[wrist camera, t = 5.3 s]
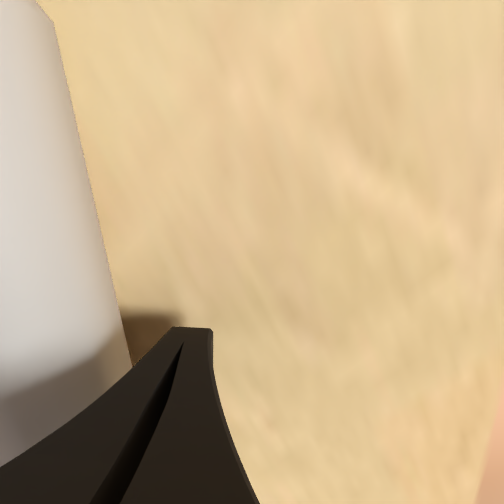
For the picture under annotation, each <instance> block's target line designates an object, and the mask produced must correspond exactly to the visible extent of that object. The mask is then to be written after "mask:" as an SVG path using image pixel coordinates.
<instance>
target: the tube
mask: <svg viewBox="0 0 504 504" xmlns="http://www.w3.org/2000/svg"><path fill="white" fill-rule="evenodd" d="M131 368H132V364H131V359H130V355H129V350H128V346H127V342H126V337H125V333H124V329H123V324H122V320H121V315H120V311H119V307H118V302H117V298H116V294H115V289H114V285H113V281H112V276H111V272H110V267H109V263H108V259H107V254H106V250H105V246H104V241H103V237H102V233H101V228H100V224H99V219H98V215H97V211H96V206H95V202H94V198H93V193H92V189H91V184H90V180H89V176H88V171H87V167H86V163H85V158H84V154H83V150H82V145H81V141H80V136H79V132H78V128H77V123H76V119H75V115H74V110H73V106H72V102H71V97H70V93H69V88H68V84H67V80H66V75H65V71H64V67H63V62H62V58H61V53H60V49H59V45H58V40H57V36H56V32H55V27H54V23H53V21H52V20H51V19H50V18H49V16H48V15H47V14H46V13H45V12H44V10H43V9H42V8H41V7H40V6H39V4H38V3H37V2H36V1H35V0H0V467H1V466H3V465H4V464H6V463H7V462H9V461H11V460H12V459H14V458H15V457H17V456H19V455H20V454H22V453H23V452H25V451H26V450H28V449H29V448H31V447H32V446H34V445H35V444H36V443H38V442H39V441H41V440H42V439H44V438H45V437H47V436H48V435H50V434H51V433H53V432H54V431H56V430H57V429H58V428H60V427H61V426H63V425H64V424H66V423H67V422H68V421H70V420H71V419H72V418H74V417H75V416H76V415H77V414H79V413H80V412H81V411H83V410H84V409H85V408H87V407H88V406H89V405H90V404H92V403H93V402H94V401H95V400H96V399H98V398H99V397H100V396H101V395H102V394H104V393H105V392H106V391H107V390H108V389H109V388H110V387H112V386H113V385H114V384H115V383H116V382H117V381H118V380H119V379H121V378H122V377H123V376H124V375H125V374H126V373H127V372H128V371H129V370H130V369H131Z"/></svg>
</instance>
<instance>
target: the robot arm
mask: <svg viewBox="0 0 504 504" xmlns="http://www.w3.org/2000/svg"><path fill="white" fill-rule="evenodd" d="M0 504H260V503H259V501H258V499H257V497H256V495H255V493H254V490H253V488H252V486H251V484H250V481H249V479H248V477H247V474H246V472H245V470H244V467H243V465H242V462H241V460H240V458H239V455H238V453H237V450H236V448H235V445H234V442H233V440H232V437H231V434H230V431H229V428H228V425H227V422H226V419H225V416H224V413H223V409H222V406H221V402H220V398H219V394H218V390H217V386H216V381H215V376H214V370H213V331H212V330H211V329H210V328H190V327H172V328H171V329H170V330H169V331H168V332H167V333H166V334H165V335H164V336H163V337H162V338H161V339H160V340H159V341H158V342H157V344H156V345H155V346H154V347H153V348H152V349H151V350H150V351H149V352H148V353H147V354H146V355H145V356H144V357H143V358H142V359H141V360H140V361H139V362H138V363H137V364H136V365H135V366H134V367H133V368H131V369H130V370H129V371H128V372H127V373H126V374H125V375H124V376H123V377H122V378H121V379H119V380H118V381H117V382H116V383H115V384H114V385H113V386H112V387H110V388H109V389H108V390H107V391H106V392H105V393H104V394H102V395H101V396H100V397H99V398H98V399H96V400H95V401H94V402H93V403H92V404H90V405H89V406H88V407H87V408H85V409H84V410H83V411H81V412H80V413H79V414H77V415H76V416H75V417H74V418H72V419H71V420H70V421H68V422H67V423H66V424H64V425H63V426H61V427H60V428H58V429H57V430H56V431H54V432H53V433H51V434H50V435H48V436H47V437H45V438H44V439H42V440H41V441H39V442H38V443H36V444H35V445H34V446H32V447H31V448H29V449H28V450H26V451H25V452H23V453H22V454H20V455H19V456H17V457H15V458H14V459H12V460H11V461H9V462H7V463H6V464H4V465H3V466H1V467H0Z"/></svg>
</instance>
